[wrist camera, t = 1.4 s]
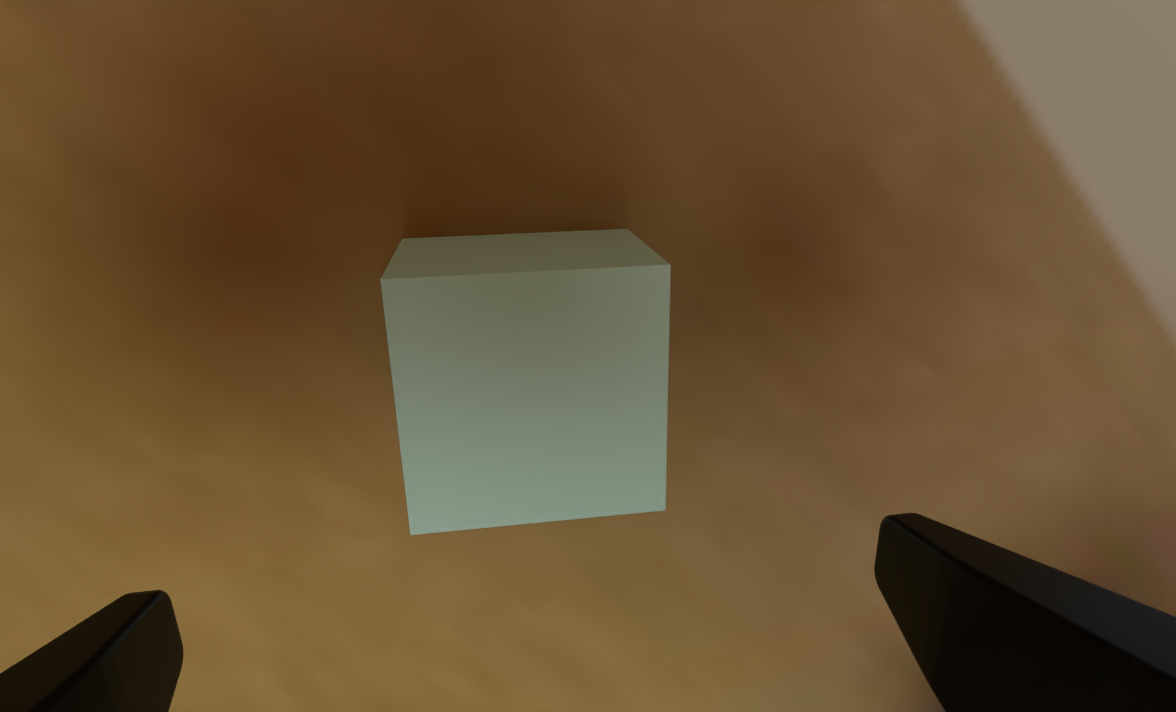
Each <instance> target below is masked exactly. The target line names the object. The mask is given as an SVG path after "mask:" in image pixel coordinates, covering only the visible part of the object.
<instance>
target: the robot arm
mask: <svg viewBox="0 0 1176 712" xmlns="http://www.w3.org/2000/svg"><path fill="white" fill-rule="evenodd" d="M874 570H875V578H876V581H877V584H878V587H879V589H880V591H881V593H882V595H883V597H884V599H885V601H886V603H887V605H888V606H889V608H890V610H891V612H892V614H893V616H894V618H895V620H896V622H897V624H898V626H899V628H900V630H901V632H902V634H903V636H904V638H905V640H906V642H907V644H908V645H909V647H910V649H911V651H912V653H913V655H914V657H915V659H916V661H917V663H918V665H919V667H920V669H921V671H922V673H923V674H924V676H925V678H926V680H927V682H928V683H929V685H930V687H931V689H932V690H933V692H934V694H935V695H936V697H937V699H938V700H939V702H940V703H941V705H942V707H943V708H944V710H945V711H946V712H1176V617H1175V616H1172V615H1170V614H1167V613H1165V612H1162V611H1160V610H1157V609H1155V608H1152V607H1150V606H1147V605H1145V604H1142V603H1140V602H1137V601H1135V600H1132V599H1130V598H1127V597H1125V596H1122V595H1120V594H1117V593H1115V592H1112V591H1110V590H1107V589H1105V588H1102V587H1100V586H1097V585H1095V584H1092V583H1090V582H1087V581H1085V580H1082V579H1080V578H1077V577H1075V576H1072V575H1070V574H1067V573H1065V572H1062V571H1060V570H1057V569H1055V568H1052V567H1050V566H1047V565H1045V564H1042V563H1040V562H1037V561H1035V560H1032V559H1030V558H1027V557H1025V556H1022V555H1020V554H1017V553H1015V552H1012V551H1010V550H1007V549H1005V548H1002V547H1000V546H997V545H995V544H992V543H990V542H987V541H985V540H982V539H980V538H977V537H975V536H972V535H970V534H967V533H965V532H962V531H960V530H957V529H955V528H952V527H950V526H947V525H945V524H942V523H940V522H937V521H935V520H932V519H930V518H927V517H925V516H922V515H920V514H917V513H904V514H895V515H888V516H886V517H885V518H884V519H883V520H882V522H881V525H880V530H879V537H878V544H877V552H876V559H875V568H874ZM182 663H183V645H182V640H181V636H180V633H179V629H178V625H177V621H176V617H175V614H174V610H173V606H172V602H171V600H170V597H169V596H168V594H167V593H166V592H164V591H162V590H154V591H144V592H134V593H128V594H125V595H123V596H121V597H120V598H118V599H117V600H115V601H114V602H112V603H110V604H109V605H107V606H106V607H104V608H103V609H101V610H99V611H98V612H96V613H95V614H93V615H92V616H90V617H88V618H87V619H85V620H84V621H82V622H81V623H79V624H77V625H76V626H74V627H73V628H71V629H70V630H68V631H66V632H65V633H63V634H62V635H60V636H59V637H57V638H55V639H54V640H52V641H51V642H49V643H48V644H46V645H45V646H43V647H41V648H40V649H38V650H37V651H35V652H34V653H32V654H30V655H29V656H27V657H26V658H24V659H23V660H21V661H19V662H18V663H16V664H15V665H13V666H12V667H10V668H8V669H7V670H5V671H4V672H2V673H1V674H0V712H168V711H169V708H170V705H171V701H172V698H173V695H174V691H175V688H176V685H177V681H178V678H179V675H180V671H181V668H182Z"/></svg>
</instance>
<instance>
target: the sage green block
mask: <svg viewBox="0 0 1176 712" xmlns="http://www.w3.org/2000/svg"><path fill="white" fill-rule="evenodd" d="M670 275H671V265H670V264H669V263H668V262H667V261H666V260H664V259H663V258H662V257H661V256H660V255H658V254H657V253H656V252H655V251H654V250H653V249H651V248H650V247H649V246H648V245H647V244H645V243H644V242H643V241H642V240H641V239H639V238H638V237H637V236H636V235H635V234H633V233H632V232H631V231H630V230H629V229H609V230H587V231H564V232H541V233H518V234H495V235H472V236H449V237H427V238H404V239H402V240H401V242H400V243H399V245H398V247H397V249H396V251H395V253H394V255H393V256H392V258H391V260H390V262H389V264H388V266H387V268H386V270H385V271H384V273H383V275H382V277H381V279H380V282H381V290H382V298H383V307H384V315H385V324H386V332H387V341H388V349H389V358H390V366H391V374H392V383H393V391H394V400H395V408H396V417H397V425H398V434H399V442H400V450H401V459H402V467H403V476H404V484H405V493H406V501H407V510H408V518H409V526H410V535H416V534H427V533H437V532H447V531H458V530H468V529H478V528H488V527H499V526H509V525H519V524H530V523H540V522H550V521H560V520H571V519H581V518H591V517H602V516H612V515H622V514H633V513H643V512H653V511H663V510H665V509H666V463H667V416H668V369H669V322H670Z"/></svg>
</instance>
